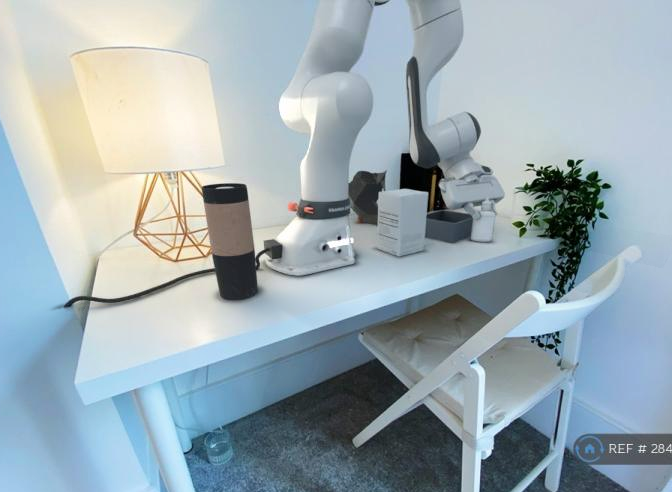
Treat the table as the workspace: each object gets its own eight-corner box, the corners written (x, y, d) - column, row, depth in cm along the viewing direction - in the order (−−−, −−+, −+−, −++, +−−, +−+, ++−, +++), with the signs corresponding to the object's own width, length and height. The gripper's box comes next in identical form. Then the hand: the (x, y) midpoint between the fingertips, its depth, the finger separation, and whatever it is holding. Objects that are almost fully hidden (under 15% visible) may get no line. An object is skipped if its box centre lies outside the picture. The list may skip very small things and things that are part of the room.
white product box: (400, 243, 95) (404, 188, 89) (424, 251, 88) (430, 191, 82) (375, 248, 91) (377, 191, 85) (398, 257, 84) (402, 195, 78)
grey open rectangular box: (452, 243, 95) (455, 223, 93) (413, 234, 104) (414, 216, 102) (478, 233, 104) (481, 215, 102) (440, 226, 113) (442, 209, 111)
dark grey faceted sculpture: (366, 216, 129) (367, 166, 121) (399, 222, 118) (402, 168, 111) (339, 222, 120) (339, 168, 113) (372, 229, 110) (374, 171, 102)
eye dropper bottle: (486, 243, 93) (494, 199, 88) (467, 239, 97) (473, 197, 92) (493, 240, 96) (501, 197, 91) (475, 236, 100) (481, 195, 95)
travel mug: (210, 294, 65) (190, 186, 57) (240, 281, 71) (227, 182, 63) (237, 304, 61) (220, 190, 53) (267, 289, 67) (256, 184, 59)
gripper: (443, 171, 90) (467, 214, 86) (495, 167, 99) (519, 206, 95) (429, 187, 95) (451, 228, 92) (480, 181, 104) (502, 219, 100)
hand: (486, 217), depth 93 cm, fingers closed on eye dropper bottle, 5 cm apart
